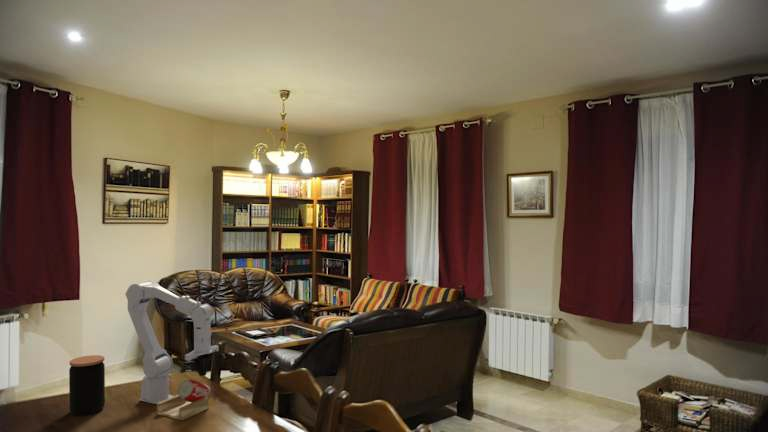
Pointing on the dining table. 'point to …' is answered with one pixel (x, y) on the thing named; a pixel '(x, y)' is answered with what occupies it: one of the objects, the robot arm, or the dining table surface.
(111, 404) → the dining table surface
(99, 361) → the coffee jar
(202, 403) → the cradle
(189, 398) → the soda can
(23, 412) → the dining table surface
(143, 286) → the robot arm
